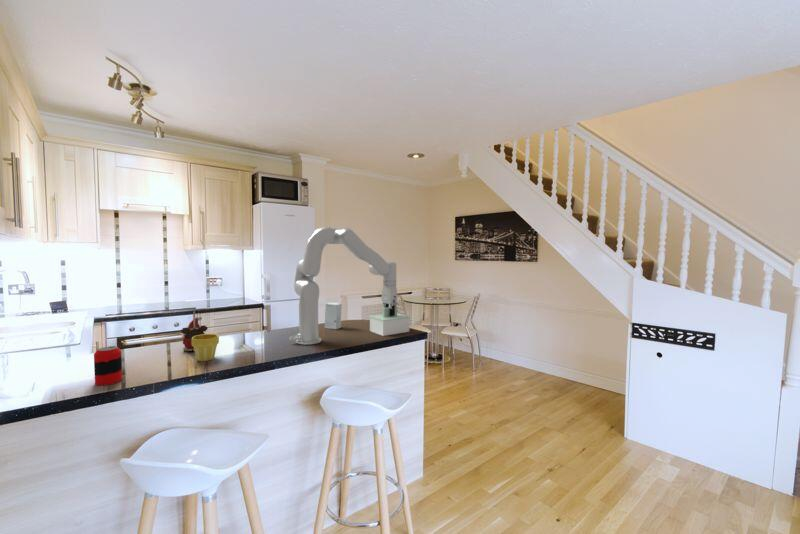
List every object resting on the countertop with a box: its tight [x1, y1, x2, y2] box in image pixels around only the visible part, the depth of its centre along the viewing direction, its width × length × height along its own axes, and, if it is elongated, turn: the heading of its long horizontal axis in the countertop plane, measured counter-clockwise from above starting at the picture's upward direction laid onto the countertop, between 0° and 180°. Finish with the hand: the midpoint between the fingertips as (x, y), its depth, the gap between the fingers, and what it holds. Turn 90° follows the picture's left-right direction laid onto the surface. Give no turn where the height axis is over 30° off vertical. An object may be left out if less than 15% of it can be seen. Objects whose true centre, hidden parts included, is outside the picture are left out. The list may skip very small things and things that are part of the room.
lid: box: [368, 306, 411, 322], centre depth 208 cm, size 19×15×7 cm
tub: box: [369, 317, 410, 337], centre depth 209 cm, size 18×14×8 cm
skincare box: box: [324, 302, 343, 330], centre depth 216 cm, size 8×6×15 cm
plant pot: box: [192, 333, 220, 362], centre depth 155 cm, size 10×10×10 cm
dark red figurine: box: [180, 310, 208, 352], centre depth 169 cm, size 11×9×18 cm
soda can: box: [93, 345, 123, 386], centre depth 128 cm, size 8×8×12 cm
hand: (389, 314), depth 208 cm, fingers open, 4 cm apart
